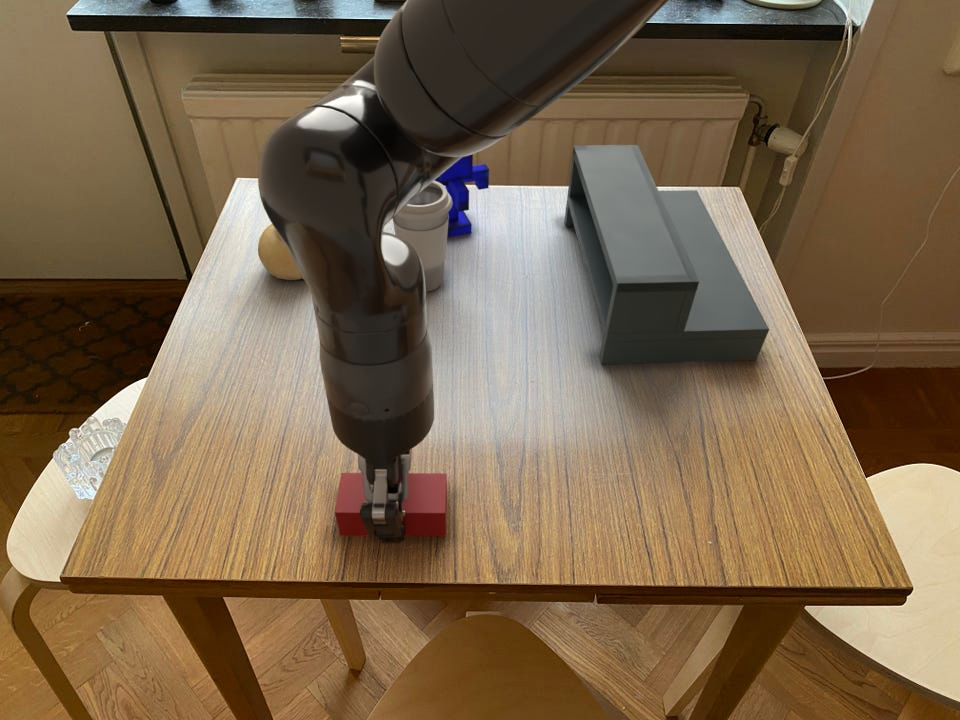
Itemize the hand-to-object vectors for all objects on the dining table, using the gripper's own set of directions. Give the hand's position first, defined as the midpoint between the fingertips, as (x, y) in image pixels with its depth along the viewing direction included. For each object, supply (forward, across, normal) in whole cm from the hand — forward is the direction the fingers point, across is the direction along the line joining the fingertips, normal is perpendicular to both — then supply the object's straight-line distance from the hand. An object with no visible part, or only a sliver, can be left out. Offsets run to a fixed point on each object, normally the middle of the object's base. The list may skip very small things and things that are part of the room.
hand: (394, 512), depth 61 cm
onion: (+1, +35, +15) cm, 38 cm away
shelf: (0, +33, -28) cm, 43 cm away
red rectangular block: (0, 0, 0) cm, 0 cm away
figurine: (+1, +44, -4) cm, 44 cm away
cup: (+1, +33, -1) cm, 33 cm away
